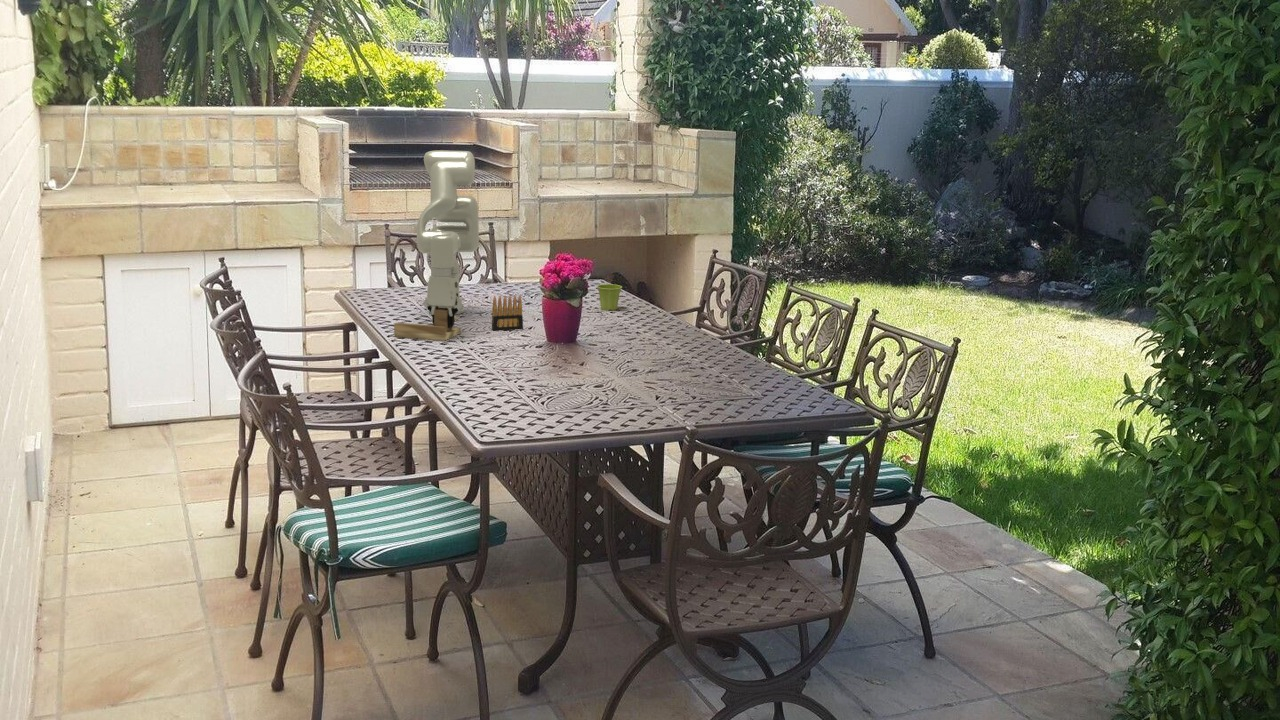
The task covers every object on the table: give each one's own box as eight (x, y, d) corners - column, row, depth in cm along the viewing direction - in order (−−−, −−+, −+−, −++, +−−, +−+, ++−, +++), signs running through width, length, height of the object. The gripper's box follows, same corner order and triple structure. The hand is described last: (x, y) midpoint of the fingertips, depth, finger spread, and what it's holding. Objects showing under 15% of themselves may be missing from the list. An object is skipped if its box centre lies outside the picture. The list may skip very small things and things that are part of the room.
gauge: (448, 323, 433) (448, 303, 432) (461, 324, 432) (460, 304, 431) (434, 330, 423) (433, 309, 421) (446, 331, 421) (446, 310, 420)
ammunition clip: (521, 328, 440) (521, 294, 437) (523, 329, 438) (523, 295, 435) (491, 329, 436) (491, 295, 434) (492, 331, 435) (492, 296, 432)
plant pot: (626, 308, 479) (626, 286, 477) (612, 312, 471) (612, 289, 469) (605, 305, 484) (606, 283, 482) (591, 309, 476) (592, 286, 474)
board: (411, 329, 434) (411, 316, 433) (460, 333, 429) (460, 320, 428) (394, 336, 422) (394, 323, 421) (444, 341, 417) (444, 327, 416)
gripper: (471, 272, 421) (471, 326, 425) (424, 268, 426) (425, 322, 430) (461, 275, 414) (462, 330, 418) (414, 272, 419) (415, 326, 423)
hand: (443, 326), depth 424 cm, fingers closed on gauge, 4 cm apart
